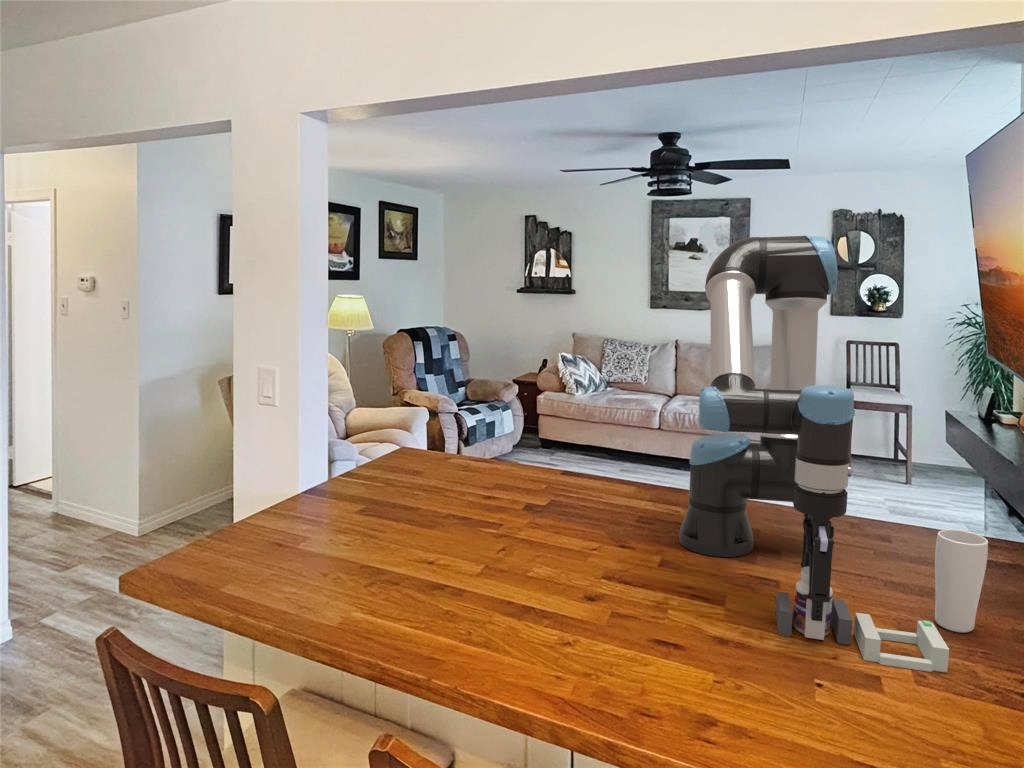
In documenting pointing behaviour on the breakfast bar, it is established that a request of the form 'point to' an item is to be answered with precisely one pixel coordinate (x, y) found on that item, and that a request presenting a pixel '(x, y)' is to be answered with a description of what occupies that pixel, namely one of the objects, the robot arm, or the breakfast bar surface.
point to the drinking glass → (958, 578)
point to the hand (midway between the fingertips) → (811, 626)
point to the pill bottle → (800, 602)
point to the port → (924, 638)
